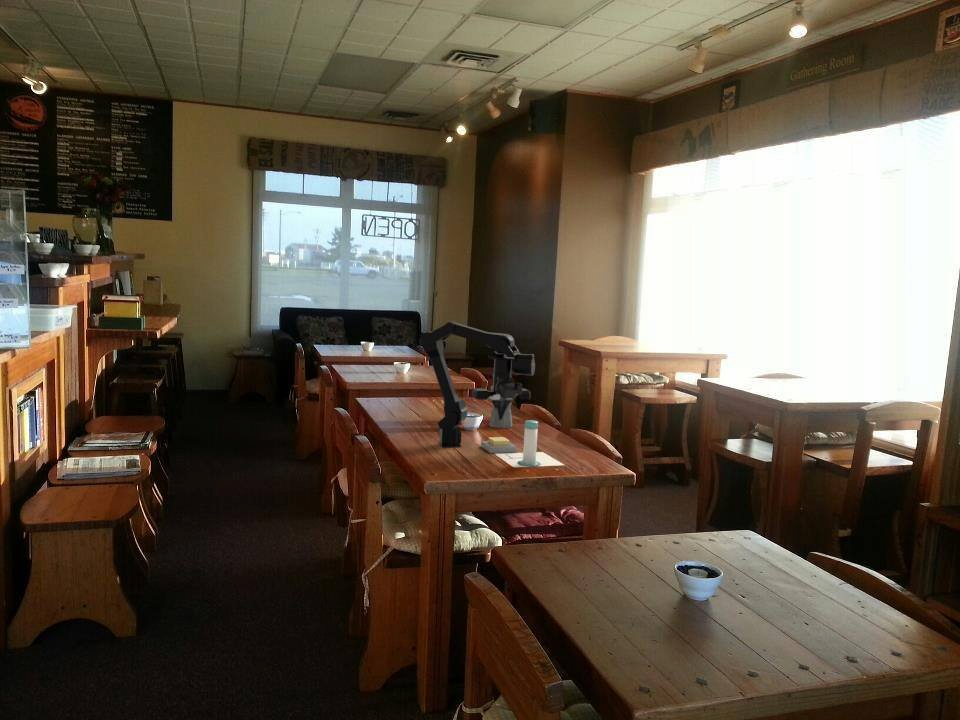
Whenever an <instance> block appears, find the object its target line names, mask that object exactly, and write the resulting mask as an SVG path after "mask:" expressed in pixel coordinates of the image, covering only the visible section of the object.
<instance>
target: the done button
mask: <svg viewBox="0 0 960 720" xmlns="http://www.w3.org/2000/svg"><path fill="white" fill-rule="evenodd" d="M487 441H488V443H489V444H491V445H492V446H509V444H510V443H511V441H510V440H509V439H508V438H506V437H504V436H494V437H493V436H490V437H488V440H487Z"/></svg>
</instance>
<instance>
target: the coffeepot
mask: <svg viewBox="0 0 960 720" xmlns="http://www.w3.org/2000/svg"><path fill="white" fill-rule="evenodd" d="M492 387H493V385H491V387H490V391H493V390H492ZM512 404H513V402H511V403H510V404H509V405H508V406H507V408H506V411H505V413H504V415H503V418H502V420H498V417H497V414H496V411H495V408H494V406H493V403H492V402H491V405H492V409H491V415H490V420H489V424H488V426H489V427H491V428H494V429H511V428H512V427H513V418H512V410H511V406H512Z"/></svg>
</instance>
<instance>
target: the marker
mask: <svg viewBox="0 0 960 720" xmlns="http://www.w3.org/2000/svg"><path fill="white" fill-rule="evenodd" d="M538 427H539V421H538V420H532V419H531V420H529V419H528V420H524V432H523V433H524V434H523V435H524V436H523V448H522V449H523V451H522V453H523V463H524V464H528V465H534V464H536V452H537V447H538V446H537V443H538V430H539V429H538Z"/></svg>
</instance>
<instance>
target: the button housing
mask: <svg viewBox="0 0 960 720" xmlns="http://www.w3.org/2000/svg"><path fill="white" fill-rule="evenodd" d="M488 441H489V440H482V441H481V445H480V446H481V448H483V449H484V450H485V451H487V452H488V454H501V453H517V445H515V444H514V443H512V442H510V444H509V446H492V445H491V444H489V443H488Z"/></svg>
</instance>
